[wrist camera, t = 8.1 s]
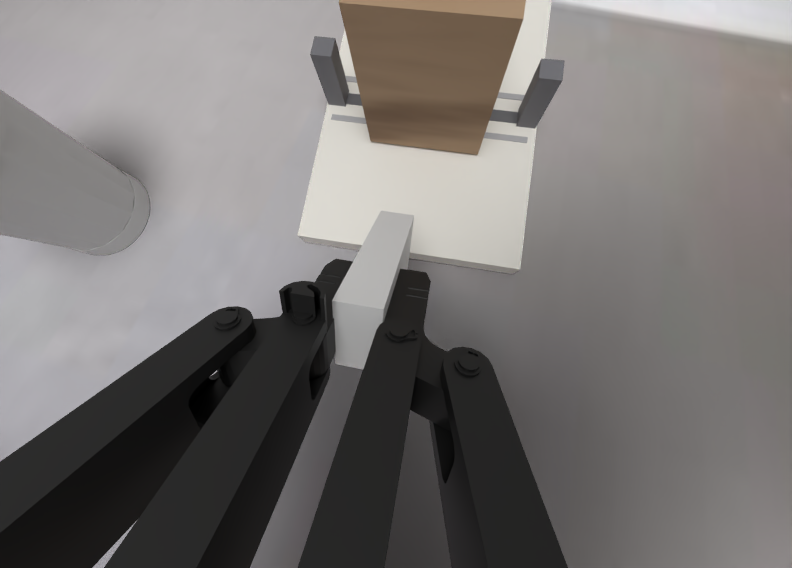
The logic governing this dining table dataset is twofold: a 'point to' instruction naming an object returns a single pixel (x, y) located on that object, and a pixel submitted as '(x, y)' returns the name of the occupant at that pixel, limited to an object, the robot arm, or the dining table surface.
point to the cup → (63, 188)
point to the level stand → (433, 164)
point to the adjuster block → (430, 67)
